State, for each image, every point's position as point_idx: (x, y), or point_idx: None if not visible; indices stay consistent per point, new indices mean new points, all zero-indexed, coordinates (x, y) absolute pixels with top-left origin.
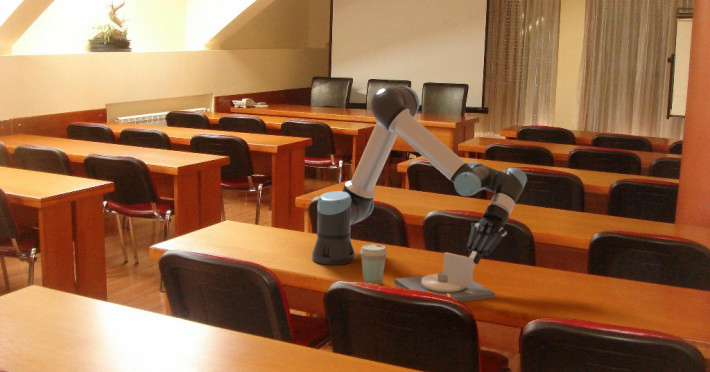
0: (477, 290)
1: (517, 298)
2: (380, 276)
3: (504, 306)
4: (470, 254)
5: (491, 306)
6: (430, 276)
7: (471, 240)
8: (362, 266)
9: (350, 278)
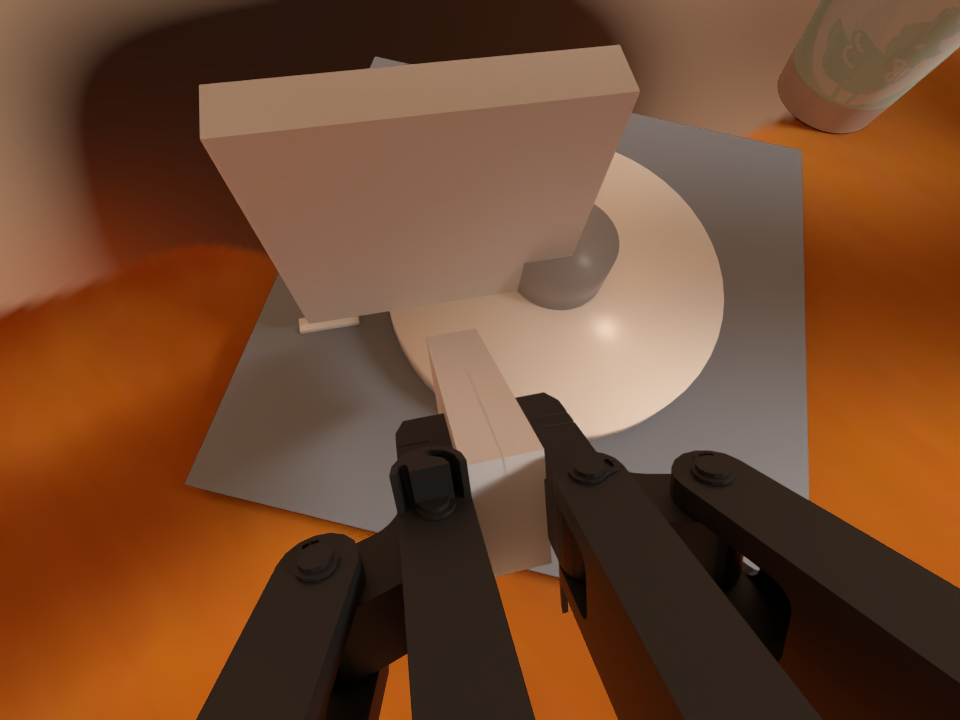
0: (323, 408)
1: (47, 648)
2: (810, 54)
3: (38, 403)
4: (555, 440)
5: (112, 331)
6: (682, 254)
7: (831, 586)
8: None
9: (935, 68)
